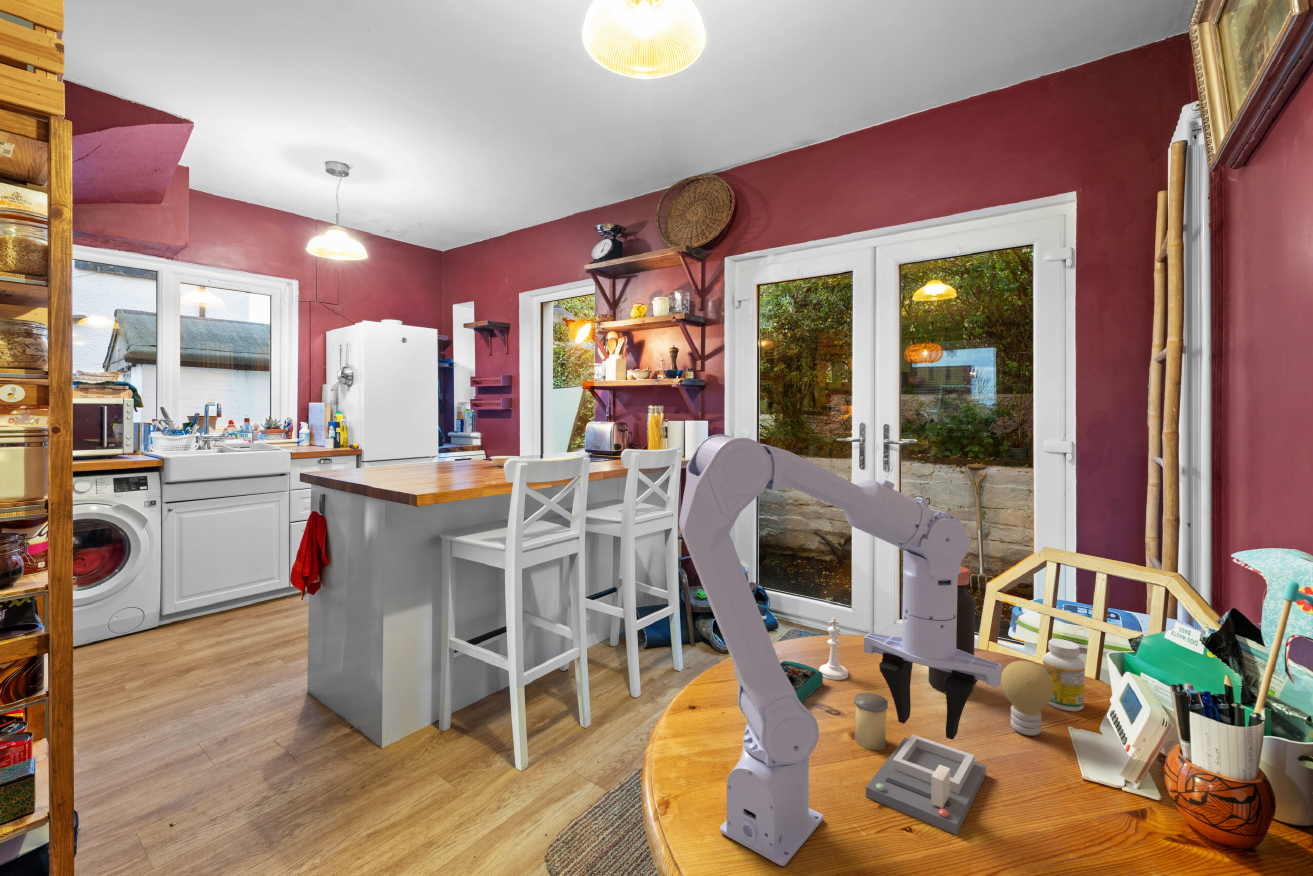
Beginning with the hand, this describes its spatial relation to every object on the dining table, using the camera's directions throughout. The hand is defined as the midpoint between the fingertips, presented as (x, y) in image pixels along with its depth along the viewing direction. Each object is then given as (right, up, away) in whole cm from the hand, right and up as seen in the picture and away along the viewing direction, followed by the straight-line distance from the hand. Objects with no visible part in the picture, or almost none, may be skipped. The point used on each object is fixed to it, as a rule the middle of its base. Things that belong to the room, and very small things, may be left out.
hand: (927, 727), depth 69 cm
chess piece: (0, -8, +35) cm, 36 cm away
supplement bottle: (+32, -8, +24) cm, 41 cm away
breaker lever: (+1, -8, -1) cm, 8 cm away
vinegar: (+18, -8, +30) cm, 36 cm away
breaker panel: (+2, -9, +4) cm, 10 cm away
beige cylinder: (-2, -9, +14) cm, 16 cm away
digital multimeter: (-11, -9, +28) cm, 31 cm away
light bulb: (+22, -9, +16) cm, 28 cm away
